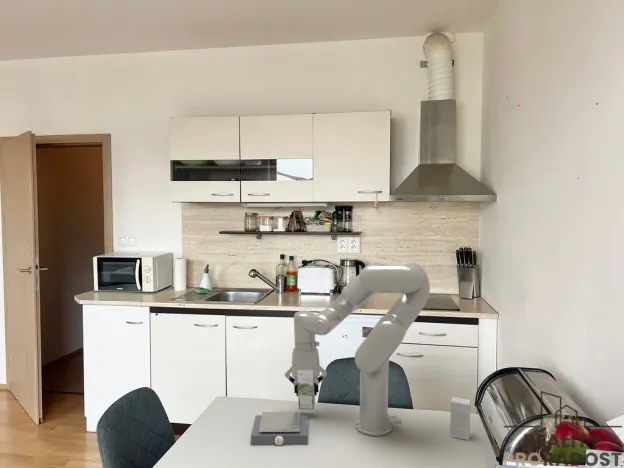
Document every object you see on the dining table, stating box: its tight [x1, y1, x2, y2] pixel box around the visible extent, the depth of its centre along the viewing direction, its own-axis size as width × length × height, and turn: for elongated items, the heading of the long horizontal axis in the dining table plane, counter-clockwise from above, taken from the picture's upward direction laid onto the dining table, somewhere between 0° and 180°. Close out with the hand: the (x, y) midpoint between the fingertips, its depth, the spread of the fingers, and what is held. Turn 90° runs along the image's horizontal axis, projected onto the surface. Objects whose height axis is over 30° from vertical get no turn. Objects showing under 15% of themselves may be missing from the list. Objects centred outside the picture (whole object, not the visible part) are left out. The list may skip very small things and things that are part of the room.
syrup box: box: [297, 370, 316, 410], centre depth 158 cm, size 6×6×14 cm
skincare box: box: [449, 396, 471, 441], centre depth 145 cm, size 6×4×12 cm
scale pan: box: [259, 411, 301, 432], centre depth 146 cm, size 13×12×1 cm
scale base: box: [250, 414, 308, 446], centre depth 145 cm, size 18×15×3 cm
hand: (306, 394), depth 158 cm, fingers closed on syrup box, 6 cm apart
